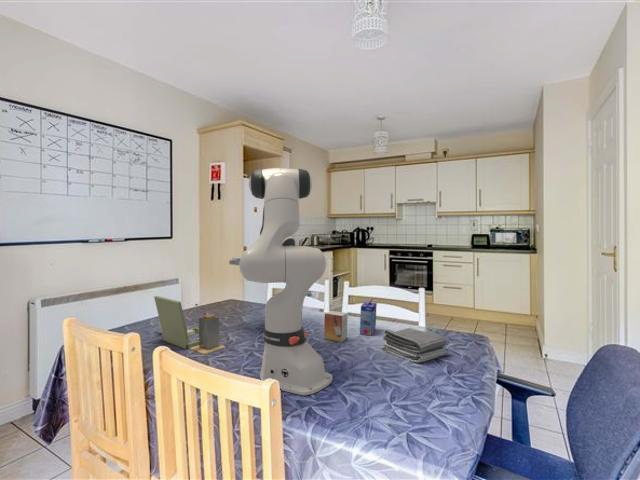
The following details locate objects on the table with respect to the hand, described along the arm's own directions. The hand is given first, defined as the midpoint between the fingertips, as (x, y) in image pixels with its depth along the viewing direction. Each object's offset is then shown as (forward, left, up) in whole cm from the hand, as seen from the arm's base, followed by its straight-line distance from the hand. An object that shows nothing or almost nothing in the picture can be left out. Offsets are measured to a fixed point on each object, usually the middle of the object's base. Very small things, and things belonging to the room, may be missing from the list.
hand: (237, 263), depth 138 cm
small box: (-34, -22, -30) cm, 50 cm away
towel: (-64, -27, -30) cm, 76 cm away
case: (+11, +16, -30) cm, 36 cm away
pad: (-3, +16, -30) cm, 34 cm away
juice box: (-40, -38, -30) cm, 63 cm away
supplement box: (+26, +15, -30) cm, 43 cm away
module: (-3, +16, -30) cm, 34 cm away
